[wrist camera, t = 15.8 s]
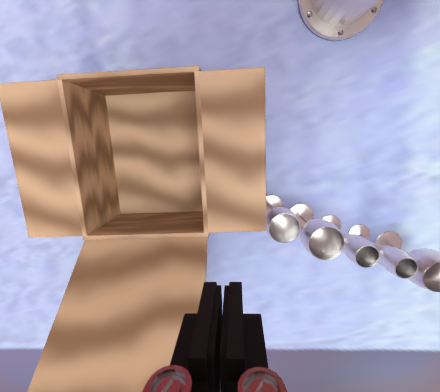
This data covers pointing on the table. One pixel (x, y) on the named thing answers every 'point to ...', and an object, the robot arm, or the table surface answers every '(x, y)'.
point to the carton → (140, 152)
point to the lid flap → (121, 314)
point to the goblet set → (351, 243)
